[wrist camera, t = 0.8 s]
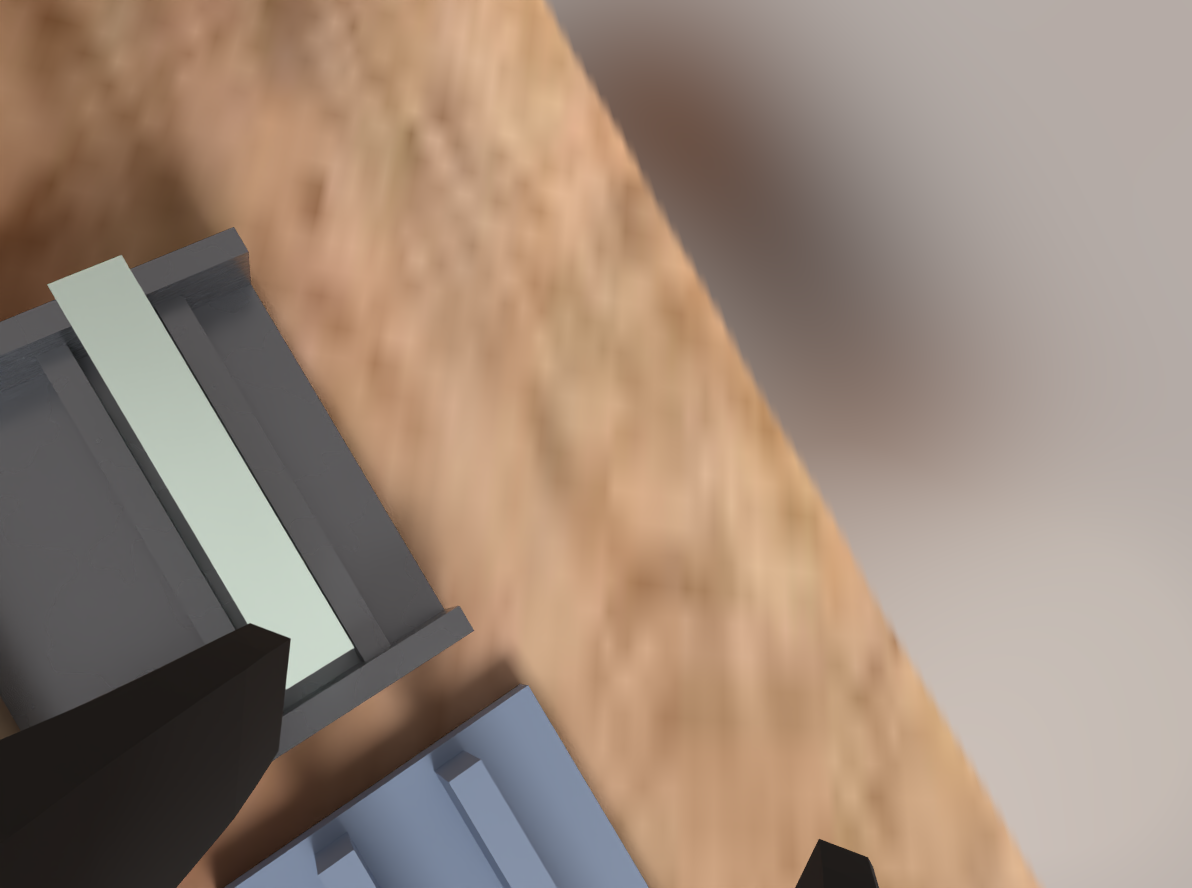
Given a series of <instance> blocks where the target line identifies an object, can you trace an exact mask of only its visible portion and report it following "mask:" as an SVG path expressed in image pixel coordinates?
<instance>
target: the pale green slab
mask: <svg viewBox="0 0 1192 888" xmlns="http://www.w3.org/2000/svg"><path fill="white" fill-rule="evenodd" d="M47 285H48V287H49V289H50V290H51V292H52V294H53V295H54V297H55V299H56V300H57V302H58V304H59V306H60V307H61V309H62V311H63V312H64V314H65V316H66V317H67V319H68V321H69V323H70V324H71V326H72V328H73V329H74V331H75V333H76V334H77V336H78V338H79V339H80V341H81V343H82V345H83V346H84V348H85V350H86V351H87V353H88V355H89V356H90V358H91V360H92V361H93V363H94V365H95V367H96V368H97V370H98V372H99V373H100V375H101V377H102V378H103V380H104V382H105V383H106V385H107V387H108V389H109V390H110V392H111V394H112V395H113V397H114V399H115V400H116V402H117V404H118V405H119V407H120V409H121V411H122V412H123V414H124V416H125V417H126V419H127V421H128V422H129V424H130V426H131V427H132V429H133V431H134V433H135V434H136V436H137V438H138V439H139V441H140V443H141V444H142V446H143V448H144V449H145V451H146V453H147V455H148V456H149V458H150V460H151V461H152V463H153V465H154V466H155V468H156V470H157V471H158V473H159V475H160V477H161V478H162V480H163V482H164V483H165V485H166V487H167V488H168V490H169V492H170V493H171V495H172V497H173V499H174V500H175V502H176V504H177V505H178V507H179V509H180V510H181V512H182V514H183V515H184V517H185V519H186V521H187V522H188V524H189V526H190V527H191V529H192V531H193V532H194V534H195V536H196V537H197V539H198V541H199V543H200V544H201V546H202V548H203V549H204V551H205V553H206V554H207V556H208V558H209V559H210V561H211V563H212V565H213V566H214V568H215V570H216V571H217V573H218V575H219V576H220V578H221V580H222V581H223V583H224V585H225V587H226V588H227V590H228V592H229V593H230V595H231V597H232V598H233V600H234V602H235V603H236V605H237V607H238V609H239V610H240V612H241V614H242V615H243V617H244V619H245V620H246V622H247V624H249V623H251V624H254V625H257V626H259V627H262V628H265V629H267V630H270V631H273V632H275V633H278V634H280V635H283V636H286V637H288V638H291V643H290V652H289V661H288V670H287V679H286V689H288V688H290V687H291V686H293V685H295V684H296V683H298V682H299V681H301V680H303V679H304V678H306V677H307V676H309V675H311V674H312V673H314V672H316V671H317V670H319V669H320V668H322V667H324V666H325V665H327V664H329V663H330V662H332V661H333V660H335V659H337V658H338V657H340V656H341V655H343V654H345V653H346V652H348V651H350V650H351V649H353V648H354V646H353V645H352V643H351V641H350V640H349V638H348V636H347V635H346V633H345V631H344V629H343V628H342V626H341V624H340V623H339V621H338V619H337V618H336V616H335V614H334V613H333V611H332V609H331V608H330V606H329V604H328V602H327V601H326V599H325V597H324V596H323V594H322V592H321V591H320V589H319V587H318V586H317V584H316V582H315V581H314V579H313V577H312V575H311V574H310V572H309V570H308V569H307V567H306V565H305V564H304V562H303V560H302V559H301V557H300V555H299V554H298V552H297V550H296V548H295V547H294V545H293V543H292V542H291V540H290V538H289V537H288V535H287V533H286V532H285V530H284V528H283V527H282V525H281V523H280V521H279V520H278V518H277V516H276V515H275V513H274V511H273V510H272V508H271V506H270V505H269V503H268V501H267V500H266V498H265V496H264V494H263V493H262V491H261V489H260V488H259V486H258V484H257V483H256V481H255V479H254V478H253V476H252V474H251V473H250V471H249V469H248V467H247V466H246V464H245V462H244V461H243V459H242V457H241V456H240V454H239V452H238V451H237V449H236V447H235V446H234V444H233V442H232V440H231V439H230V437H229V435H228V434H227V432H226V430H225V429H224V427H223V425H222V424H221V422H220V420H219V419H218V417H217V415H216V413H215V412H214V410H213V408H212V407H211V405H210V403H209V402H208V400H207V398H206V397H205V395H204V393H203V392H202V390H201V388H200V386H199V385H198V383H197V381H196V380H195V378H194V376H193V375H192V373H191V371H190V370H189V368H188V366H187V365H186V363H185V361H184V359H183V358H182V356H181V354H180V353H179V351H178V349H177V348H176V346H175V344H174V343H173V341H172V339H171V338H170V336H169V334H168V332H167V331H166V329H165V327H164V326H163V324H162V322H161V321H160V319H159V317H158V316H157V314H156V312H155V311H154V309H153V307H152V305H151V304H150V302H149V300H148V299H147V297H146V295H145V294H144V292H143V290H142V289H141V287H140V285H139V284H138V282H137V280H136V278H135V277H134V275H133V273H132V272H131V270H130V268H129V267H128V265H127V263H126V262H125V260H124V258H123V257H122V255H120V256H117V257H115V258H112V259H110V260H107V261H105V262H102V263H100V264H97V265H95V266H92V267H90V268H87V269H85V270H82V271H80V272H77V273H75V274H72V275H70V276H67V277H65V278H62V279H60V280H57V281H55V282H52V283H50V284H47Z"/></svg>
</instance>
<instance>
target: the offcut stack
mask: <svg viewBox="0 0 1192 888" xmlns="http://www.w3.org/2000/svg"><path fill="white" fill-rule="evenodd" d="M17 732H20V729H19V727H18V725H17V724H16V722H15V720H14V719H13V717H12V715H11V714H10V712H9V710H8V708H7V707H6V705H5V703H4V702H3V700H2V698H1V696H0V739H3V738H5V737H8V736H10V735H13V734H15V733H17Z"/></svg>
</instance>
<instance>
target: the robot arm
mask: <svg viewBox="0 0 1192 888" xmlns="http://www.w3.org/2000/svg"><path fill="white" fill-rule="evenodd" d="M290 643H291V638H288V637H286V636H283V635H280V634H278V633H275V632H273V631H270V630H267V629H265V628H262V627H259V626H257V625H254V624H251V623H249V624H247V625H245V626H243V627H241V628H239V629H237V630H235V631H232V632H230V633H228V634H226V635H224V636H222V637H220V638H218V639H216V640H214V641H212V642H210V643H208V644H206V645H204V646H202V647H200V648H198V649H196V650H194V651H192V652H190V653H188V654H186V655H184V656H182V657H180V658H178V659H176V660H174V661H172V662H170V663H168V664H166V665H164V666H162V667H160V668H158V669H156V670H154V671H152V672H150V673H148V674H146V675H144V676H141V677H139V678H137V679H135V680H133V681H131V682H129V683H127V684H125V685H122V686H120V687H118V688H116V689H114V690H112V691H110V692H108V693H106V694H104V695H101V696H99V697H97V698H95V699H93V700H91V701H89V702H87V703H84V704H82V705H80V706H78V707H76V708H73V709H71V710H69V711H66V712H64V713H62V714H59V715H57V716H55V717H52V718H50V719H48V720H45V721H43V722H41V723H38V724H36V725H34V726H31V727H29V728H27V729H24V730H22V731H20V732H17V733H15V734H13V735H10V736H8V737H5V738H3V739H0V888H176V887H177V886H178V885H179V884H180V883H181V881H182V880H183V879H184V878H185V877H186V876H187V874H188V873H189V872H190V871H191V870H192V868H193V867H194V866H195V865H196V864H197V862H198V861H199V860H200V859H201V858H202V856H203V855H204V854H205V853H206V852H207V851H208V849H209V848H210V847H211V846H212V845H213V843H214V842H215V841H216V840H217V839H218V837H219V836H220V835H221V834H222V833H223V831H224V830H225V829H226V828H227V826H228V825H229V824H230V823H231V822H232V820H233V819H234V818H235V816H236V815H237V813H238V812H239V810H240V809H241V808H242V806H243V805H244V803H245V802H246V800H247V799H248V797H249V796H250V794H251V793H252V791H253V790H254V788H255V787H256V785H257V784H258V782H259V781H260V779H261V778H262V776H263V774H264V773H265V771H266V770H267V768H268V767H269V765H270V764H271V762H272V761H273V759H274V757H275V756H276V754H277V753H278V751H279V743H280V734H281V725H282V716H283V707H284V697H285V688H286V679H287V670H288V661H289V652H290ZM795 888H879V886H878V883H877V879H876V876H875V872H874V869H873V866H872V864H871V862H870V861H869V859H868V857H865V856H863V855H860V854H857V853H855V852H852V851H850V850H847V849H844V848H842V847H839V846H836V845H834V844H831V843H829V842H826V841H823V840H821V839H819V840H818V842H817V844H816V846H815V848H814V850H813V852H812V854H811V856H810V859H809V861H808V863H807V865H806V867H805V869H804V871H803V873H802V875H801V877H800V879H799V881H798V883H797V885H796V887H795Z"/></svg>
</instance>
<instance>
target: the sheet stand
mask: <svg viewBox="0 0 1192 888" xmlns="http://www.w3.org/2000/svg"><path fill="white" fill-rule="evenodd" d="M224 888H649V887H648V886H647V884H646V882H645V881H644V879H643V877H642V876H641V874H640V872H639V870H638V869H637V867H636V865H635V864H634V862H633V860H632V859H631V857H630V855H629V854H628V852H627V850H626V849H625V847H624V845H623V844H622V842H621V840H620V839H619V837H618V835H617V834H616V832H615V830H614V829H613V827H612V825H611V823H610V822H609V820H608V818H607V817H606V815H605V813H604V812H603V810H602V808H601V807H600V805H599V803H598V802H597V800H596V798H595V797H594V795H593V793H592V792H591V790H590V788H589V787H588V785H587V783H586V781H585V780H584V778H583V776H582V775H581V773H580V771H579V770H578V768H577V766H576V765H575V763H574V761H573V760H572V758H571V756H570V755H569V753H568V751H567V750H566V748H565V746H564V745H563V743H562V741H561V740H560V738H559V736H558V734H557V733H556V731H555V729H554V728H553V726H552V724H551V723H550V721H549V719H548V718H547V716H546V714H545V713H544V711H543V709H542V708H541V706H540V704H539V703H538V701H537V699H536V698H535V696H534V694H533V693H532V691H531V689H530V687H529V686H528V685H523V684H520V685H518V686H517V687H515V688H514V689H512V690H511V691H509V692H508V693H507V694H505V695H504V696H502V697H501V698H499V699H498V700H496V701H495V702H493V703H492V704H491V705H489V706H488V707H486V708H485V709H483V710H482V711H480V712H479V713H477V714H476V715H474V716H473V717H472V718H470V719H469V720H467V721H466V722H464V723H463V724H461V725H460V726H458V727H457V728H456V729H454V730H453V731H451V732H450V733H448V734H447V735H445V736H444V737H442V738H441V739H440V740H438V741H437V742H435V743H434V744H432V745H431V746H429V747H428V748H426V749H425V750H424V751H422V752H421V753H419V754H418V755H416V756H415V757H413V758H412V759H410V760H409V761H407V762H406V763H405V764H403V765H402V766H400V767H399V768H397V769H396V770H394V771H393V772H391V773H390V774H389V775H387V776H386V777H384V778H383V779H381V780H380V781H378V782H377V783H375V784H374V785H373V786H371V787H370V788H368V789H367V790H365V791H364V792H362V793H361V794H359V795H358V796H357V797H355V798H354V799H352V800H351V801H349V802H348V803H346V804H345V805H343V806H342V807H340V808H339V809H338V810H336V811H335V812H333V813H332V814H330V815H329V816H327V817H326V818H324V819H323V820H322V821H320V822H319V823H317V824H316V825H314V826H313V827H311V828H310V829H308V830H307V831H306V832H304V833H303V834H301V835H300V836H298V837H297V838H295V839H294V840H292V841H291V842H290V843H288V844H287V845H285V846H284V847H282V848H281V849H279V850H278V851H276V852H275V853H273V854H272V855H271V856H269V857H268V858H266V859H265V860H263V861H262V862H260V863H259V864H257V865H256V866H255V867H253V868H252V869H250V870H249V871H247V872H246V873H244V874H243V875H241V876H240V877H239V878H237V879H236V880H234V881H233V882H231V883H230V884H228V885H227V886H225V887H224Z"/></svg>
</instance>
